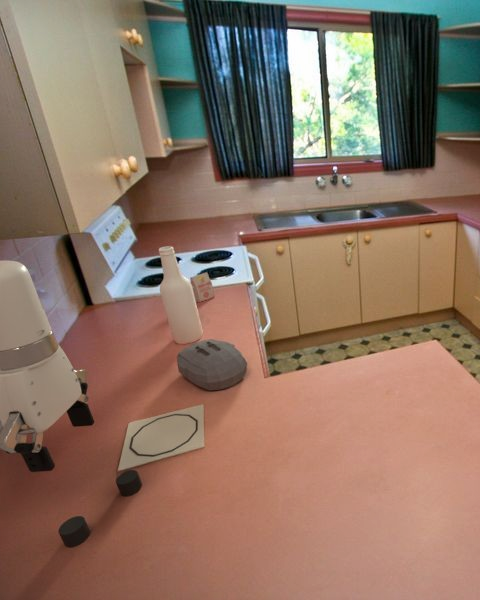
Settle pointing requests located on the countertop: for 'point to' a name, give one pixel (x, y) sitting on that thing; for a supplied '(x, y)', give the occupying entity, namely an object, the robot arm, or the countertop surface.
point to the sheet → (163, 437)
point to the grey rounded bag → (212, 364)
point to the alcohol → (179, 300)
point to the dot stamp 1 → (74, 531)
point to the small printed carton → (202, 287)
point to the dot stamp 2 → (128, 482)
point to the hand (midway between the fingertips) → (65, 446)
